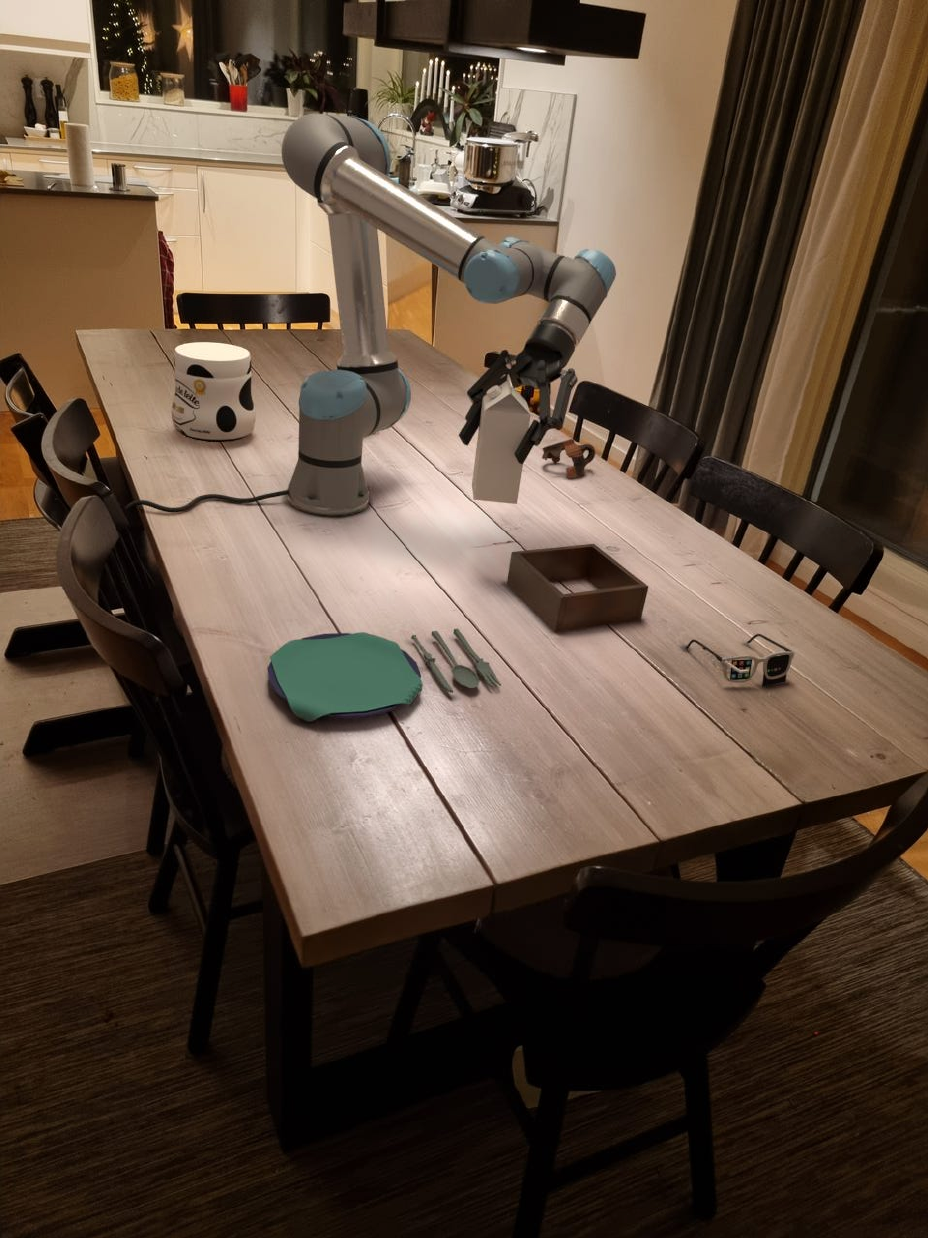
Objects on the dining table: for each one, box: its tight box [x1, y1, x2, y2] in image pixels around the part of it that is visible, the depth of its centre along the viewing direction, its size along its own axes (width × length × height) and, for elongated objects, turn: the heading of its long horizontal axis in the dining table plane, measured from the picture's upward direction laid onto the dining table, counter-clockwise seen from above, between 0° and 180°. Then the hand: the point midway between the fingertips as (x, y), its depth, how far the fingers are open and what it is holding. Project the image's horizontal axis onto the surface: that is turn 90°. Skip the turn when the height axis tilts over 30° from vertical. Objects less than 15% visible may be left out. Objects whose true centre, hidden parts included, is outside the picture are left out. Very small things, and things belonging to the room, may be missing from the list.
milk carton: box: [471, 374, 532, 505], centre depth 145 cm, size 7×7×19 cm
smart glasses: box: [685, 633, 795, 687], centre depth 134 cm, size 12×14×5 cm
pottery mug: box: [541, 438, 596, 479], centre depth 203 cm, size 12×10×8 cm
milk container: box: [171, 341, 257, 444], centre depth 193 cm, size 17×17×18 cm
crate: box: [506, 543, 649, 633], centre depth 146 cm, size 16×16×6 cm
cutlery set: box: [267, 627, 502, 723], centre depth 121 cm, size 20×30×2 cm, turn 113°
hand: (490, 449), depth 144 cm, fingers closed on milk carton, 10 cm apart
